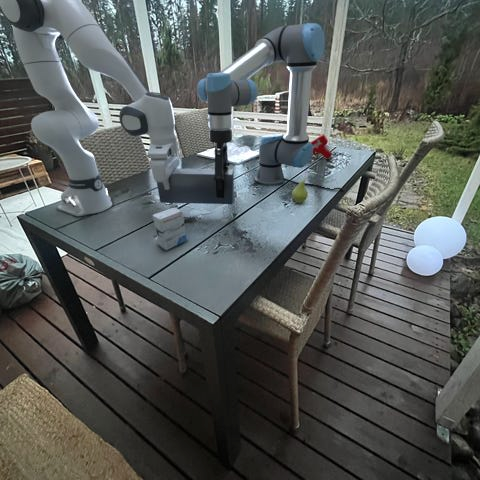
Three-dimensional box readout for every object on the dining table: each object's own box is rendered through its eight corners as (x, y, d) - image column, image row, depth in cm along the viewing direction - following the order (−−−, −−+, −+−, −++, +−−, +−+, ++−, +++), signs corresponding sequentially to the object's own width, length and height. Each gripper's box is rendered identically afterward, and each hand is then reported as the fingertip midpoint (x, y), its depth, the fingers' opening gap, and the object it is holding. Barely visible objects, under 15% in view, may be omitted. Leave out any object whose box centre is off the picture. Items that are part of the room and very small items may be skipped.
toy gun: (335, 153, 174) (324, 133, 170) (335, 155, 171) (323, 134, 167) (310, 168, 184) (299, 149, 180) (310, 170, 181) (298, 151, 177)
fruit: (288, 200, 123) (290, 174, 116) (302, 197, 125) (305, 172, 119) (296, 206, 118) (299, 179, 111) (310, 203, 120) (314, 177, 114)
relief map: (237, 164, 168) (237, 156, 165) (197, 155, 185) (196, 147, 183) (261, 154, 186) (262, 147, 183) (222, 147, 204) (222, 140, 201)
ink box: (179, 235, 98) (174, 206, 91) (187, 241, 95) (183, 210, 88) (158, 245, 93) (151, 214, 86) (165, 250, 90) (159, 219, 83)
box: (233, 197, 104) (233, 169, 98) (232, 204, 99) (232, 174, 93) (164, 196, 106) (160, 168, 100) (160, 202, 101) (155, 173, 95)
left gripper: (164, 139, 101) (169, 175, 109) (145, 154, 84) (153, 196, 92) (181, 139, 101) (185, 175, 108) (165, 154, 84) (171, 196, 91)
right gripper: (214, 122, 99) (217, 178, 110) (202, 136, 78) (207, 204, 89) (234, 122, 98) (235, 178, 110) (228, 136, 77) (229, 204, 89)
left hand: (170, 185), depth 100 cm, fingers closed on box, 6 cm apart
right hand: (222, 190), depth 100 cm, fingers open, 13 cm apart
